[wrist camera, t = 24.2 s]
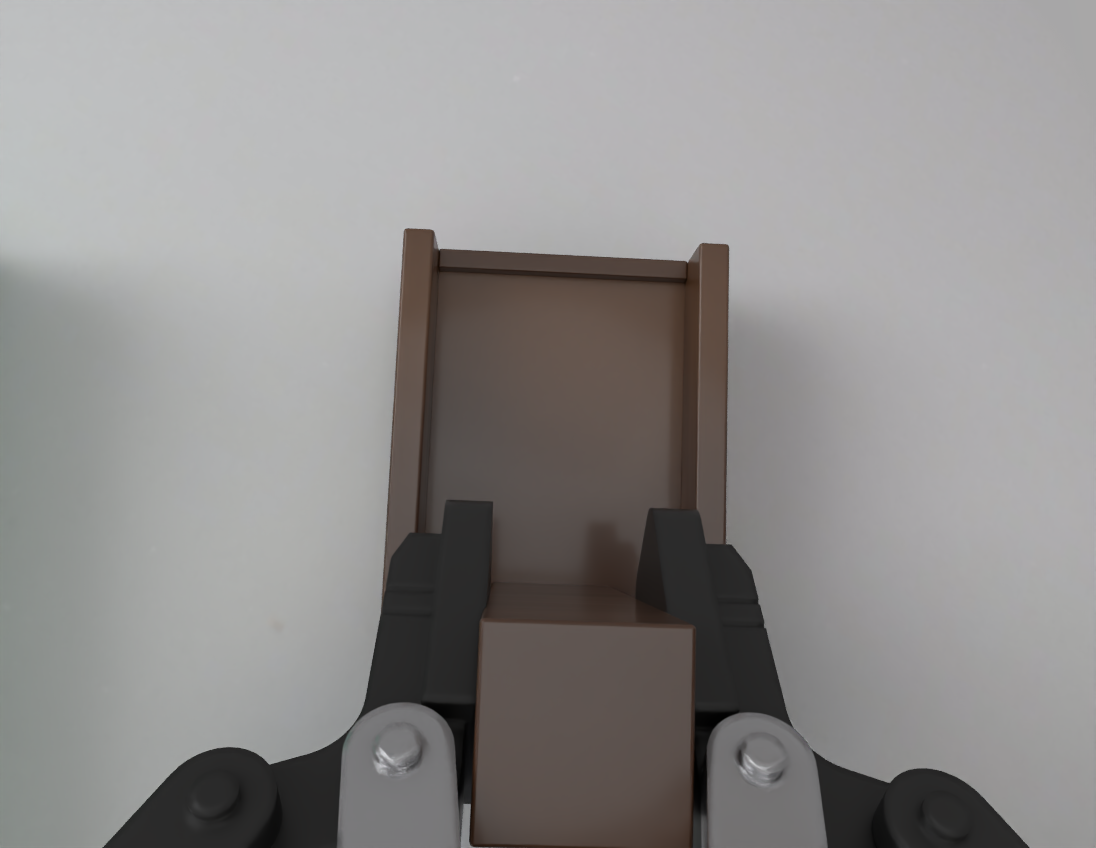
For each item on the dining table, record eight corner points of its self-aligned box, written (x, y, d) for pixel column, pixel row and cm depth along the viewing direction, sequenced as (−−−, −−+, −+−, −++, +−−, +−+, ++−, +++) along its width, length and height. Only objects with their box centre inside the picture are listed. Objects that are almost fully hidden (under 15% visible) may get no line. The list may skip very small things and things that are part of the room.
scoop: (415, 260, 20) (336, 24, 11) (706, 274, 20) (870, 56, 11) (388, 711, 18) (276, 875, 9) (700, 720, 19) (879, 887, 10)
